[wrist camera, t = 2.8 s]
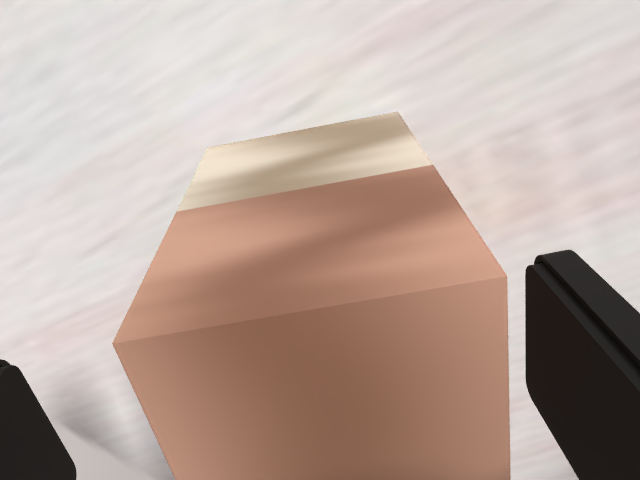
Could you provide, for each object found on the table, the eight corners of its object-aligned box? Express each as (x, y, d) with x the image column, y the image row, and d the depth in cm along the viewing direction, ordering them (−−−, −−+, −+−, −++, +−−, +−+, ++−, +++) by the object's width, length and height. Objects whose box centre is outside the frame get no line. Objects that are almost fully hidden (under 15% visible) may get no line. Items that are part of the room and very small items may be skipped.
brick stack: (397, 111, 14) (506, 276, 6) (416, 275, 16) (511, 528, 9) (207, 147, 14) (112, 343, 7) (253, 303, 16) (218, 570, 9)
